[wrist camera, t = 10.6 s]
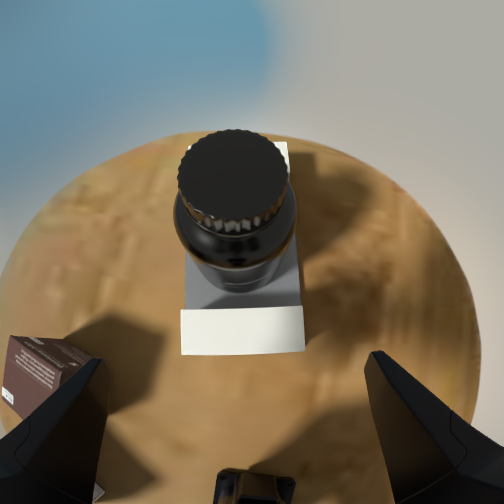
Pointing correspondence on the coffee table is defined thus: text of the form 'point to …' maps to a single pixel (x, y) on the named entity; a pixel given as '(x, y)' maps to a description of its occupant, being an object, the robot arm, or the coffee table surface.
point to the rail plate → (253, 299)
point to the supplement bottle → (235, 209)
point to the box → (37, 370)
